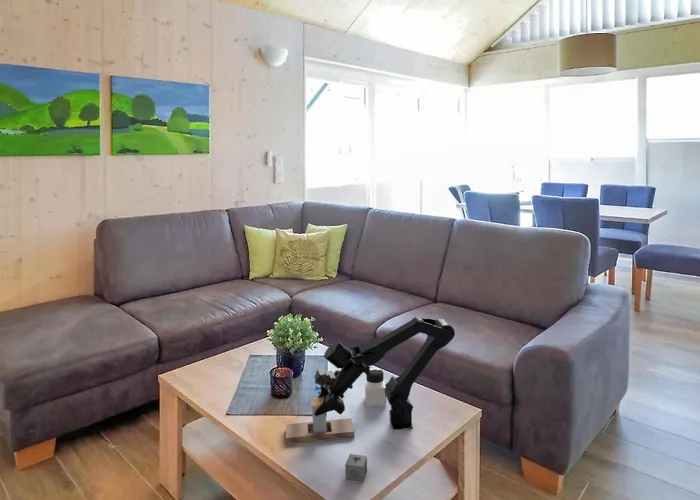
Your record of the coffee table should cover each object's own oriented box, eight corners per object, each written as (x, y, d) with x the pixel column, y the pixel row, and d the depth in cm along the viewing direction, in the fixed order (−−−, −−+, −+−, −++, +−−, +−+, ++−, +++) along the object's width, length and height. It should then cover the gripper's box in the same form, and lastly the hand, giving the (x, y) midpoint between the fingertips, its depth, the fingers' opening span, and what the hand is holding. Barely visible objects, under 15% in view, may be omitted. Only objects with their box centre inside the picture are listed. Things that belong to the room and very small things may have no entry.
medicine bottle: (386, 406, 185) (385, 375, 182) (365, 407, 185) (364, 375, 182) (385, 396, 192) (384, 366, 189) (365, 397, 192) (364, 366, 189)
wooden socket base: (351, 423, 175) (351, 418, 174) (354, 437, 167) (354, 431, 166) (286, 429, 172) (286, 424, 172) (286, 443, 165) (285, 438, 164)
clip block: (325, 425, 172) (324, 397, 170) (327, 432, 168) (325, 404, 165) (312, 426, 171) (310, 398, 169) (313, 434, 167) (311, 405, 165)
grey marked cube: (367, 471, 150) (366, 455, 149) (363, 482, 145) (362, 466, 144) (350, 469, 151) (349, 453, 150) (345, 480, 147) (345, 464, 145)
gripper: (325, 349, 174) (294, 383, 175) (332, 374, 156) (297, 412, 157) (350, 368, 177) (318, 402, 177) (359, 395, 159) (324, 432, 159)
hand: (314, 411), depth 168 cm, fingers closed on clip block, 4 cm apart
